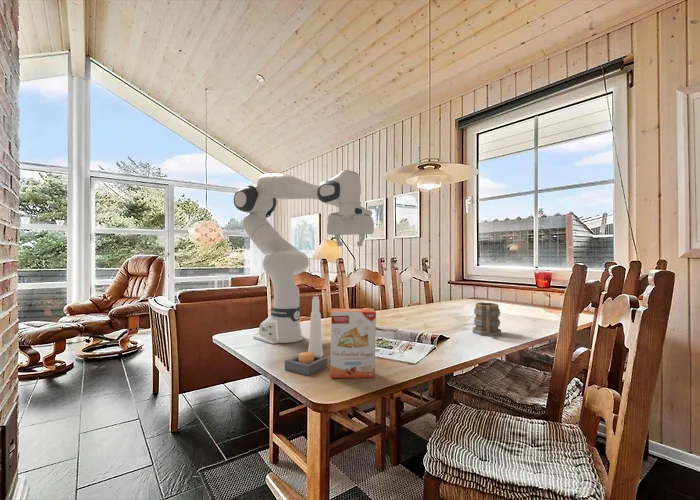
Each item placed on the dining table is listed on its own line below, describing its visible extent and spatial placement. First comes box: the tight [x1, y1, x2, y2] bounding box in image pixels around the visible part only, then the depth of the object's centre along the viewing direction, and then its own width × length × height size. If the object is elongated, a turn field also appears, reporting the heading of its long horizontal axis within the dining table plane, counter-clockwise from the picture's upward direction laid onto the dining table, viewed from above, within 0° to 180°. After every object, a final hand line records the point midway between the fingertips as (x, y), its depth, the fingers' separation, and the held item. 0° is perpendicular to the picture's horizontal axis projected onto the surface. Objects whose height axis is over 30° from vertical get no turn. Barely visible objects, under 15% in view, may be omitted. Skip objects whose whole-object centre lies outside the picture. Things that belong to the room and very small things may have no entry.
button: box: [298, 351, 314, 364], centre depth 119 cm, size 5×5×4 cm
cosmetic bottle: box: [307, 295, 324, 357], centre depth 133 cm, size 6×6×22 cm
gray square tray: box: [284, 354, 328, 377], centre depth 119 cm, size 10×10×3 cm
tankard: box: [472, 302, 502, 337], centre depth 167 cm, size 20×13×15 cm, turn 158°
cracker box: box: [330, 308, 377, 379], centre depth 112 cm, size 14×6×21 cm, turn 93°
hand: (349, 246), depth 142 cm, fingers open, 8 cm apart
